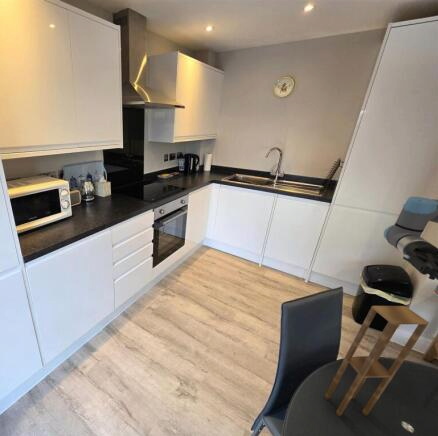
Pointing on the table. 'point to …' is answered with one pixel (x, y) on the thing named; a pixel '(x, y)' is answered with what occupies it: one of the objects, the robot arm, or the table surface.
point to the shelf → (399, 315)
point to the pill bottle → (436, 291)
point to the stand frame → (371, 363)
